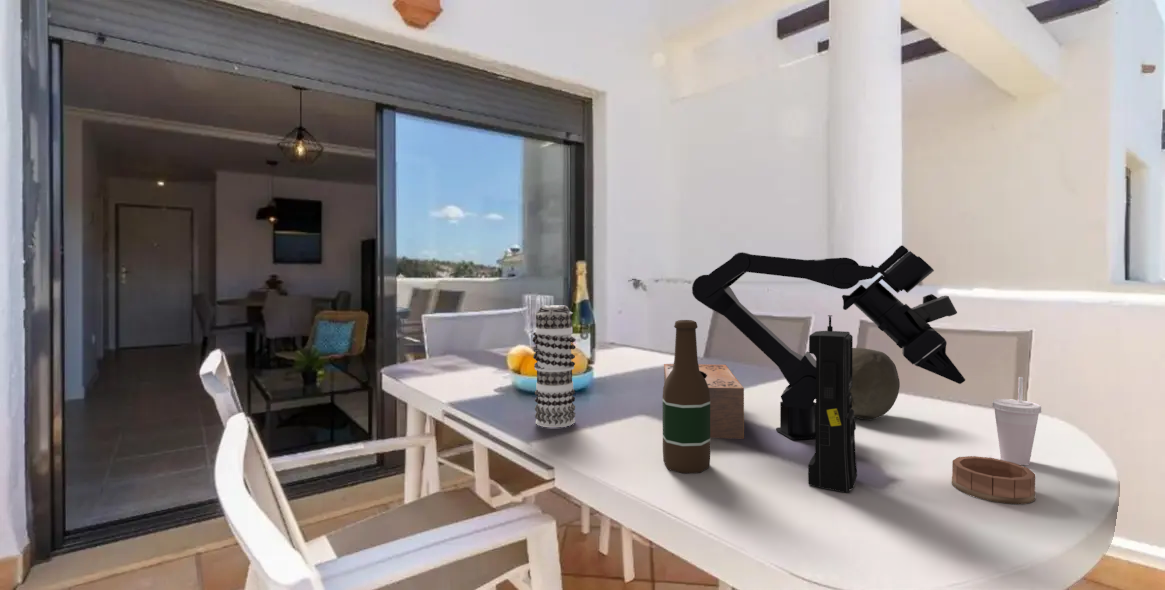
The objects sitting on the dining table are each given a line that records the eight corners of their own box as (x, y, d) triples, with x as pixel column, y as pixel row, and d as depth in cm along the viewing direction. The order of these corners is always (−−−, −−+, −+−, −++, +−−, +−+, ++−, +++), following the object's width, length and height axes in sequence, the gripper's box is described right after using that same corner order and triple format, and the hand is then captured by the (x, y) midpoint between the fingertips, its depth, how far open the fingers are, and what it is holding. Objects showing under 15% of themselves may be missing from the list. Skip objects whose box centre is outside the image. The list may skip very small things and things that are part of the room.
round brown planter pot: (992, 506, 72) (993, 482, 72) (935, 479, 82) (936, 458, 81) (1054, 501, 74) (1054, 477, 73) (991, 475, 83) (991, 454, 83)
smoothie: (1049, 469, 85) (1052, 381, 85) (1003, 466, 86) (1005, 380, 86) (1025, 455, 91) (1027, 374, 91) (982, 453, 93) (984, 373, 92)
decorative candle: (524, 424, 113) (522, 306, 112) (551, 414, 121) (550, 304, 120) (559, 431, 108) (557, 307, 107) (585, 420, 116) (583, 305, 115)
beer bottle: (712, 460, 91) (712, 318, 90) (707, 476, 84) (707, 323, 83) (666, 455, 94) (666, 318, 92) (658, 471, 86) (657, 322, 85)
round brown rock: (915, 426, 109) (916, 352, 108) (845, 426, 109) (846, 353, 109) (878, 408, 123) (878, 343, 122) (816, 409, 123) (816, 344, 123)
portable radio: (852, 497, 76) (854, 320, 74) (806, 488, 79) (807, 318, 78) (857, 478, 82) (859, 316, 81) (815, 471, 85) (816, 314, 84)
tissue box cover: (664, 405, 130) (664, 363, 129) (725, 406, 128) (725, 364, 127) (667, 438, 104) (667, 387, 104) (743, 440, 102) (743, 388, 102)
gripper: (929, 280, 86) (1015, 354, 81) (919, 278, 102) (989, 339, 97) (872, 327, 90) (950, 400, 85) (871, 318, 106) (936, 378, 101)
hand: (958, 377), depth 92 cm, fingers open, 9 cm apart
